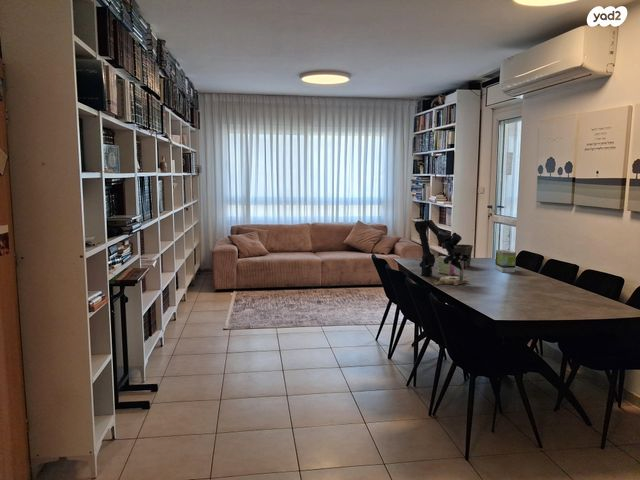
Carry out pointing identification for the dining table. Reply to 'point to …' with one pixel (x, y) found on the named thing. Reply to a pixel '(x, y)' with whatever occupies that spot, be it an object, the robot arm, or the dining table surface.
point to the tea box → (505, 260)
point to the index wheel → (454, 279)
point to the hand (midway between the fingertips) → (463, 269)
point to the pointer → (437, 282)
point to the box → (445, 266)
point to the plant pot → (468, 251)
